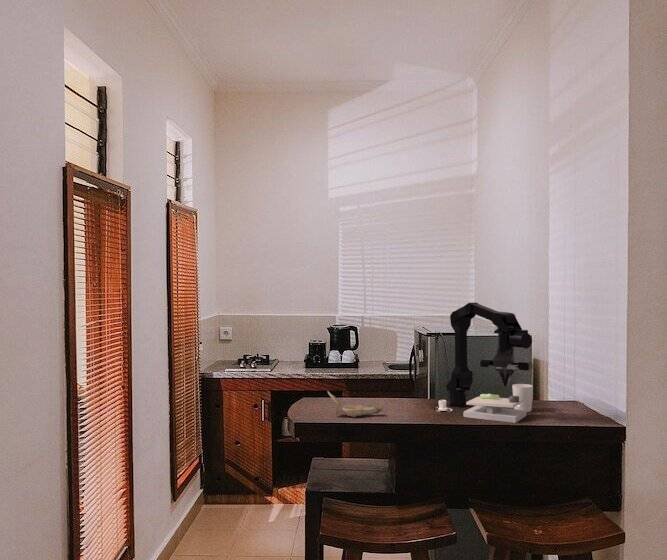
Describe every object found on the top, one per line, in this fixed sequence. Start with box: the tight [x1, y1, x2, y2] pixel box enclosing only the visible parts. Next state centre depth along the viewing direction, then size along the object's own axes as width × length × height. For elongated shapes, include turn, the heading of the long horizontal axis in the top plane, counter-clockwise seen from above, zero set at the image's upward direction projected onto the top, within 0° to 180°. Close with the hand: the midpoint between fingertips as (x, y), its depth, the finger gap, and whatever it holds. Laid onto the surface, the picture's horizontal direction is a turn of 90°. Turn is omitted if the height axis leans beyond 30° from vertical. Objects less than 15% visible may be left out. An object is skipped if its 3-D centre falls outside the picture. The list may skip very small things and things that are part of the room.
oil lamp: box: [327, 390, 383, 417], centre depth 241 cm, size 9×21×10 cm, turn 91°
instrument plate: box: [466, 393, 523, 409], centre depth 237 cm, size 18×13×3 cm
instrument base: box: [462, 405, 528, 424], centre depth 237 cm, size 20×14×4 cm
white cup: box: [511, 383, 534, 413], centre depth 247 cm, size 8×8×10 cm
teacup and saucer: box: [437, 399, 453, 412], centre depth 250 cm, size 9×8×4 cm
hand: (505, 386), depth 236 cm, fingers closed
